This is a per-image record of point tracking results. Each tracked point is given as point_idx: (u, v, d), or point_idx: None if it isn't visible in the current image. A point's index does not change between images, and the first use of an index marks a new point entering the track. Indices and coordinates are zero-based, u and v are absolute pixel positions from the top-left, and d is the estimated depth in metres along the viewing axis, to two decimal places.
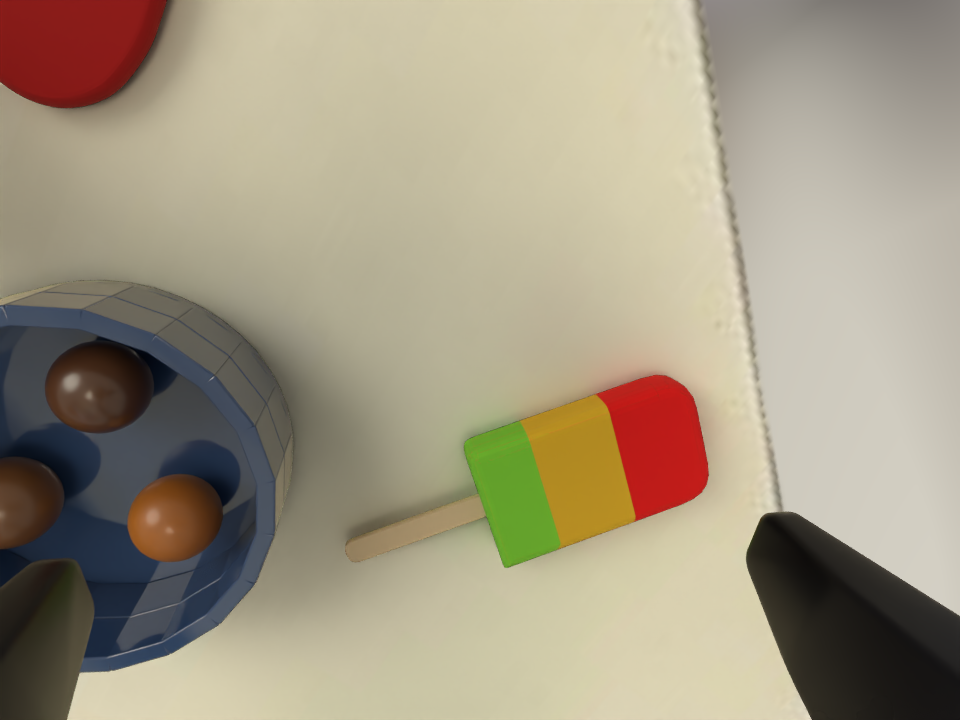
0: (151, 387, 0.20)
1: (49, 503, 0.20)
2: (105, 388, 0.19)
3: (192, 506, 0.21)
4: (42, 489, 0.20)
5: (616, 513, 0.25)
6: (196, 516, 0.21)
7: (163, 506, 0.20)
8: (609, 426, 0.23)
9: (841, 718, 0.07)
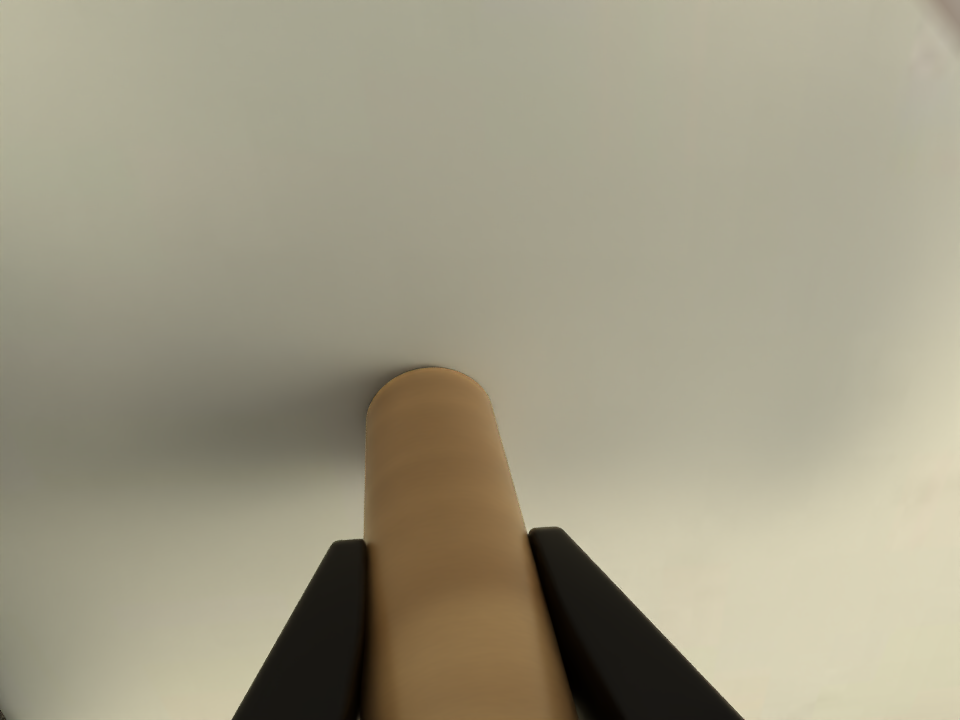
0: None
1: None
2: None
3: None
4: None
5: None
6: None
7: None
8: None
9: None
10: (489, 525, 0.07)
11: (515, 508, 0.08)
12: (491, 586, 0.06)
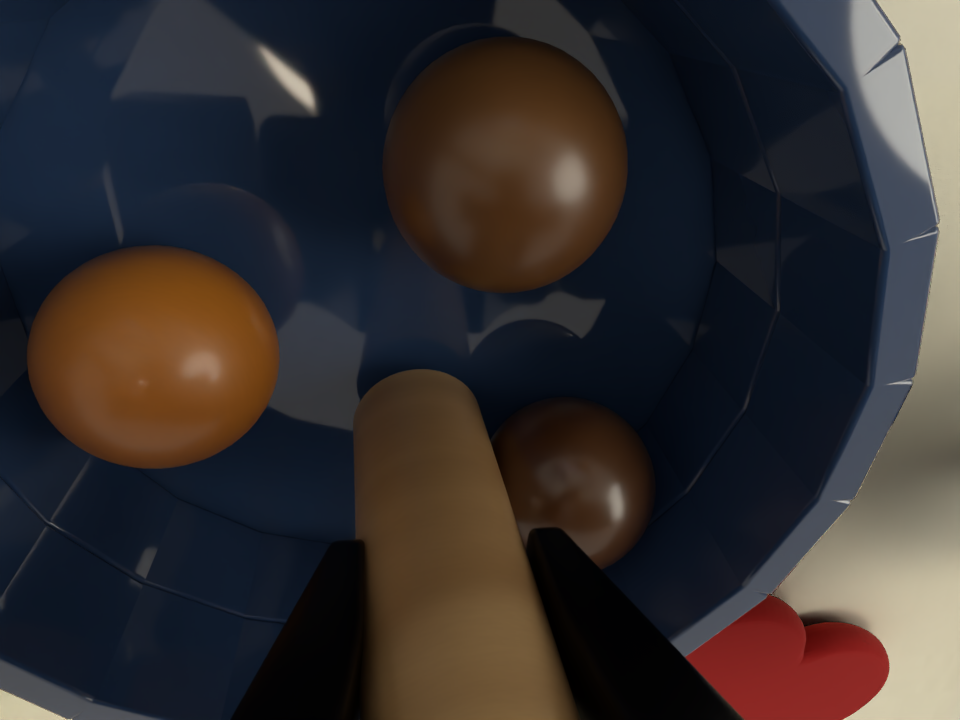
0: None
1: (423, 261, 0.08)
2: None
3: None
4: (457, 282, 0.08)
5: None
6: None
7: (205, 451, 0.08)
8: None
9: None
10: (489, 526, 0.07)
11: (510, 511, 0.08)
12: (495, 586, 0.07)
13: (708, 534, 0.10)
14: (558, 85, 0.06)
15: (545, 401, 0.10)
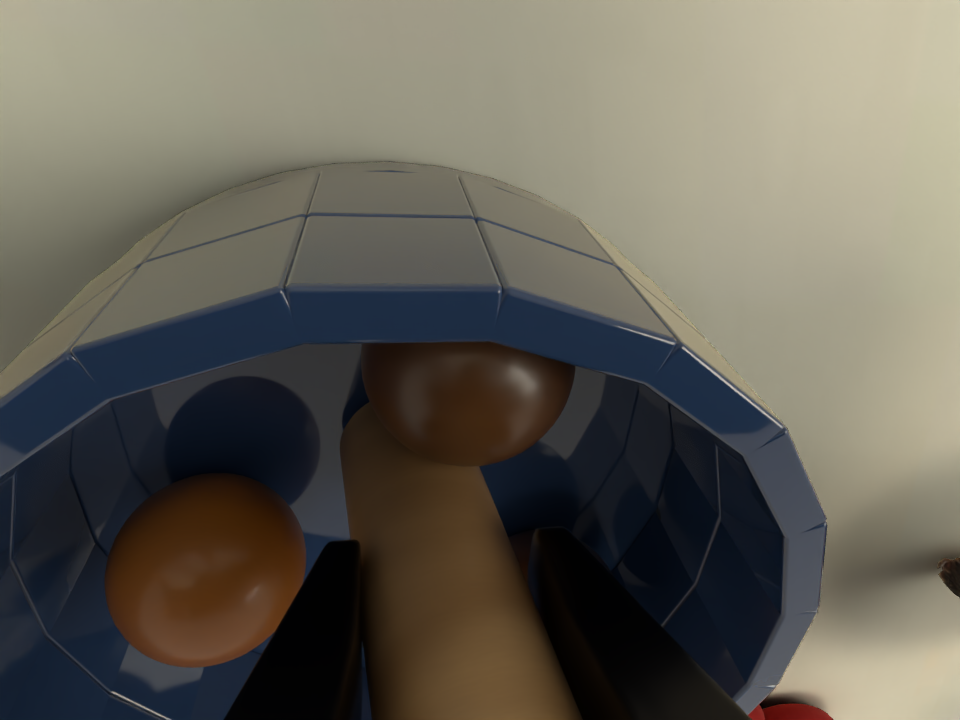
0: None
1: (387, 410, 0.08)
2: None
3: None
4: (416, 440, 0.08)
5: None
6: None
7: (248, 651, 0.10)
8: None
9: None
10: (511, 557, 0.08)
11: None
12: (529, 611, 0.07)
13: None
14: None
15: None
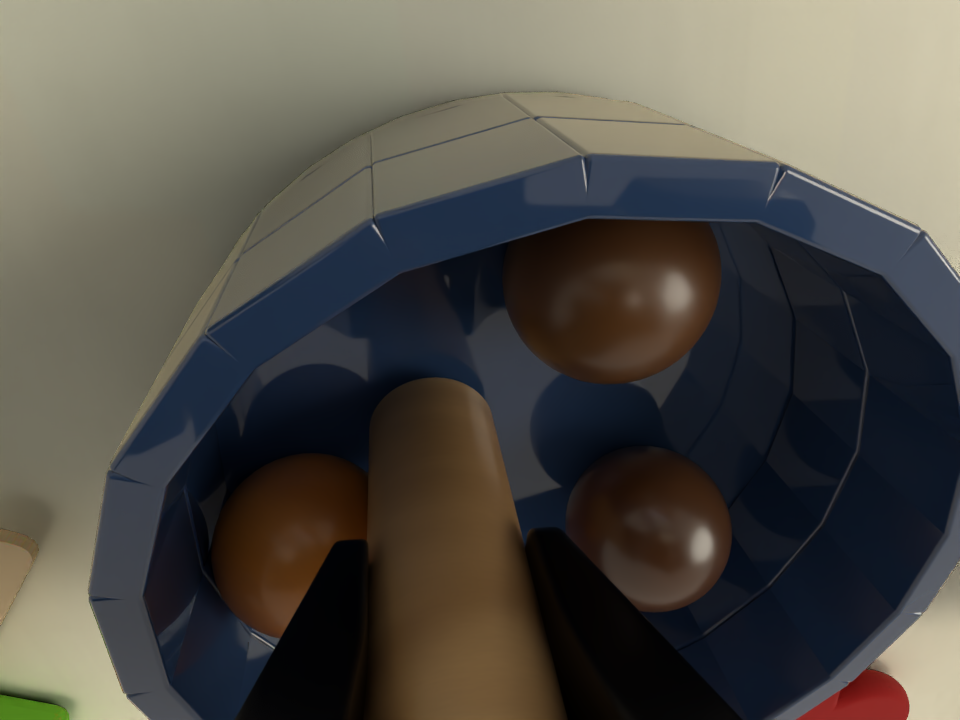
0: None
1: (550, 288, 0.08)
2: (655, 580, 0.10)
3: None
4: (565, 328, 0.08)
5: None
6: None
7: None
8: None
9: None
10: (522, 557, 0.08)
11: None
12: (531, 615, 0.07)
13: (793, 627, 0.12)
14: None
15: None
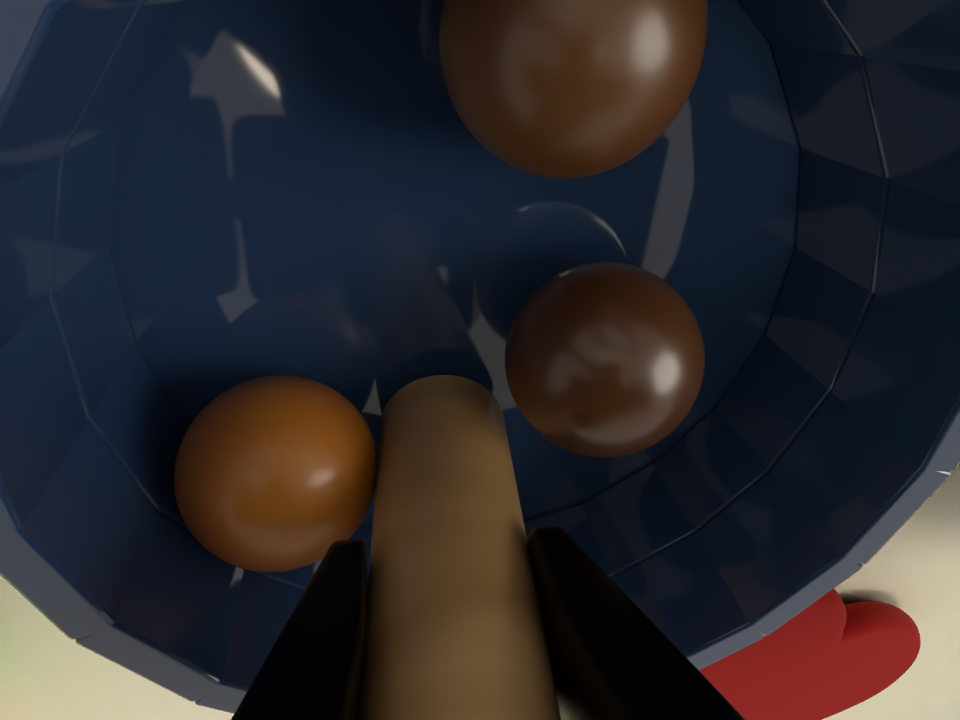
0: None
1: (488, 19, 0.06)
2: (571, 350, 0.08)
3: None
4: (507, 74, 0.06)
5: None
6: None
7: (193, 535, 0.09)
8: None
9: None
10: (524, 557, 0.08)
11: None
12: (529, 615, 0.07)
13: (797, 509, 0.10)
14: None
15: None
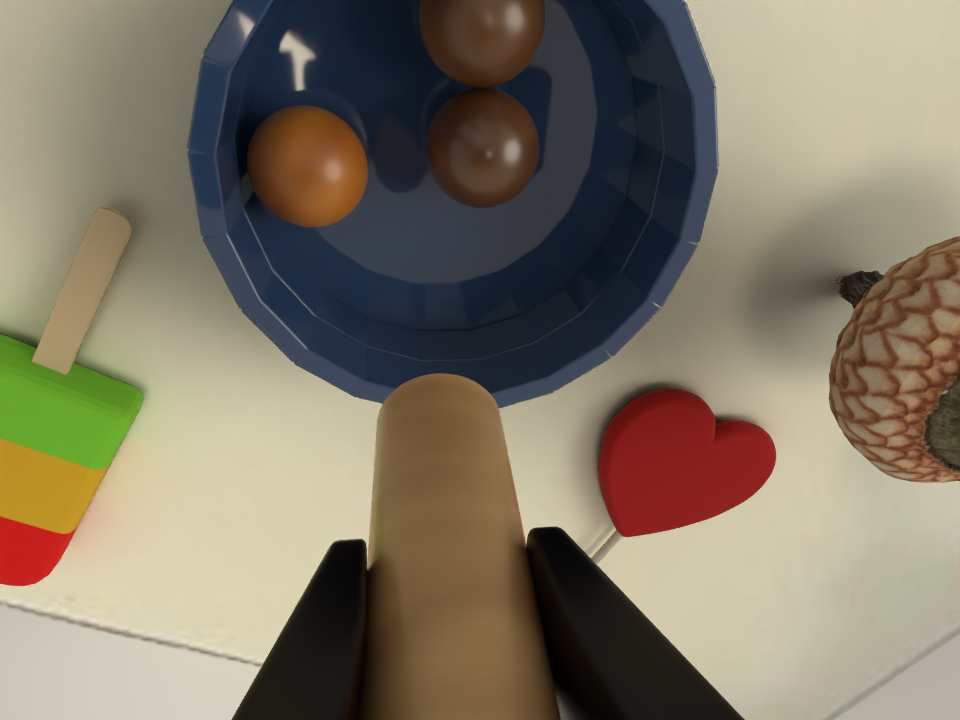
0: None
1: (436, 11, 0.14)
2: None
3: None
4: (444, 36, 0.14)
5: None
6: None
7: (250, 178, 0.15)
8: (47, 527, 0.21)
9: None
10: (523, 556, 0.08)
11: None
12: (529, 613, 0.07)
13: (632, 285, 0.17)
14: None
15: None
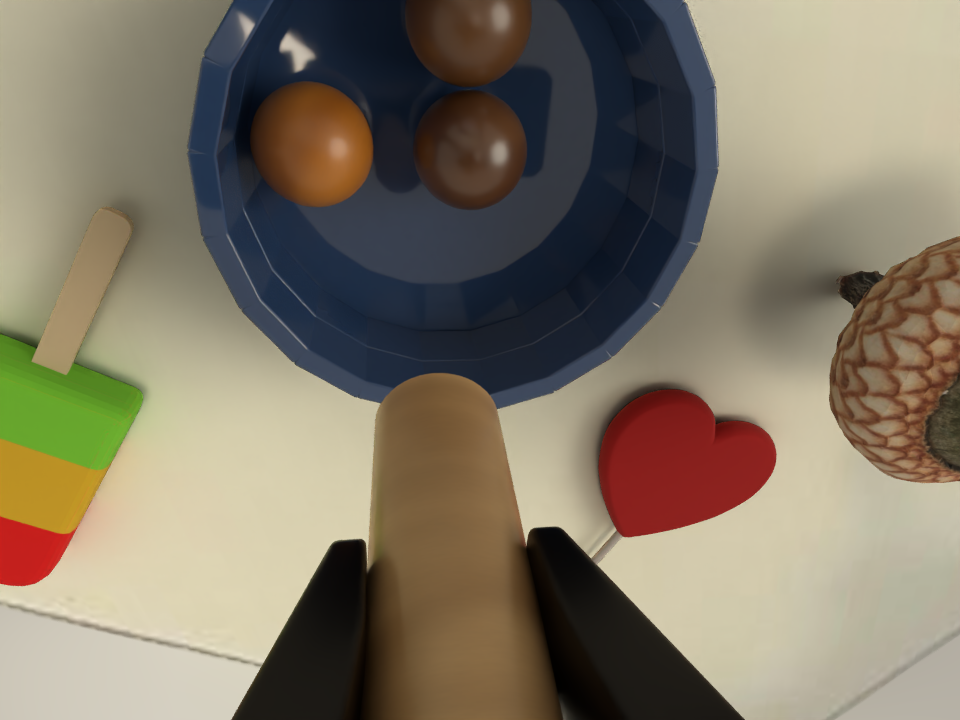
0: None
1: (412, 9, 0.14)
2: None
3: (263, 178, 0.15)
4: (420, 33, 0.14)
5: None
6: None
7: (254, 149, 0.15)
8: (48, 527, 0.21)
9: None
10: (523, 555, 0.08)
11: None
12: (531, 612, 0.07)
13: (632, 285, 0.17)
14: None
15: None
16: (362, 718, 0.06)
